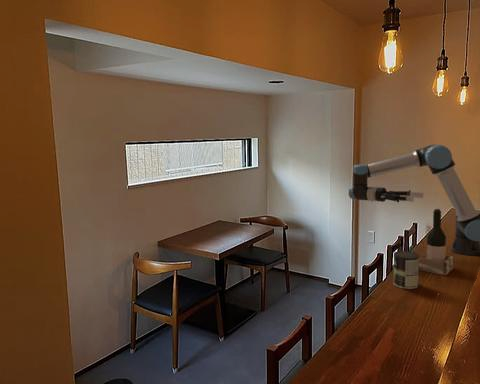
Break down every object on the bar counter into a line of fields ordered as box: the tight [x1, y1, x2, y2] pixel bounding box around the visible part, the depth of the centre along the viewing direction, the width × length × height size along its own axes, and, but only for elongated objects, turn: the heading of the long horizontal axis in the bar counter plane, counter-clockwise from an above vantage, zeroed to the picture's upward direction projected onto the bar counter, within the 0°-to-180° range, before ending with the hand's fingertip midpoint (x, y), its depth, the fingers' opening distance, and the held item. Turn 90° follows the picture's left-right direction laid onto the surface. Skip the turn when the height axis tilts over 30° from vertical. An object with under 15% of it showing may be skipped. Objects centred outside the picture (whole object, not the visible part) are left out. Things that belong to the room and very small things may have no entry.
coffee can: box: [392, 250, 420, 290], centre depth 175 cm, size 10×10×14 cm
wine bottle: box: [426, 208, 447, 262], centre depth 192 cm, size 8×8×30 cm
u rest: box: [418, 252, 455, 276], centre depth 194 cm, size 12×12×6 cm
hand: (418, 197), depth 197 cm, fingers open, 13 cm apart
